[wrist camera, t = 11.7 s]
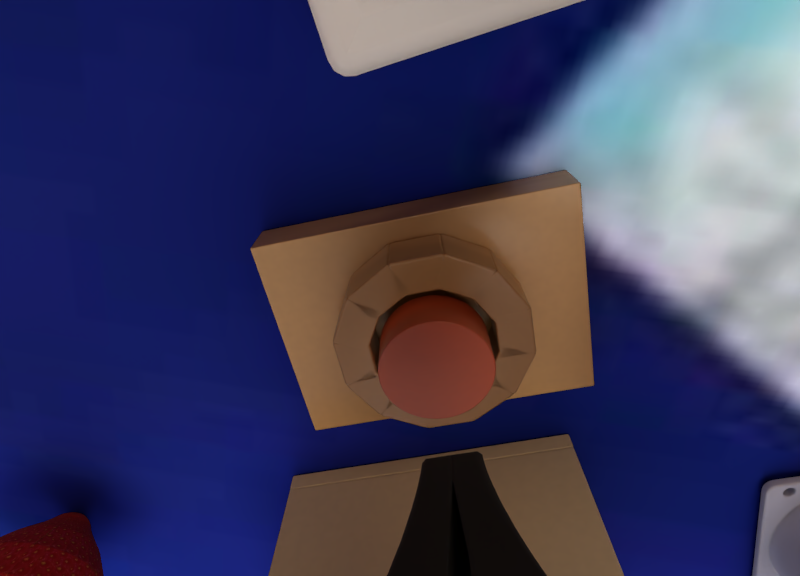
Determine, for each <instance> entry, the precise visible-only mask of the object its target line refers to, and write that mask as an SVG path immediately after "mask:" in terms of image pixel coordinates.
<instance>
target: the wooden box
mask: <svg viewBox="0 0 800 576" xmlns="http://www.w3.org/2000/svg"><path fill="white" fill-rule="evenodd" d="M475 451H478V452H479V453H481V454H483V459H484V463H485V466H486V469H487V472H488V474H489V477H490V479H491V482H492V484H493V486H494V488H495V490H496V492H497V495H498V497H499V499H500V501H501V502H502V504H503V506H504V508H505V510H506V512H507V513H508V515H509V517H510V519H511V520H512V522H513V524H514V526H515V528H516V529H517V531H518V533H519V534H520V536H521V537H522V539H523V541H524V542H525V544H526V545H527V547H528V548H529V550H530V551H531V553H532V554H533V556H534V558H535V559H536V560H537V562H538V563H539V565H540V566H541V568H542V569H543V571H544V572H545V573H546V575H547V576H624V574H623V572H622V569H621V567H620V564H619V561H618V559H617V556H616V554H615V551H614V549H613V546H612V544H611V541H610V539H609V536H608V534H607V531H606V529H605V526H604V523H603V521H602V518H601V516H600V513H599V511H598V508H597V506H596V503H595V501H594V498H593V496H592V493H591V490H590V488H589V485H588V483H587V480H586V478H585V475H584V473H583V470H582V468H581V465H580V463H579V460H578V458H577V455H576V452H575V450H574V448H573V444H572V442H571V439H570V437H569V435H568V434H565V435H558V436H552V437H545V438H539V439H532V440H526V441H519V442H513V443H506V444H500V445H493V446H487V447H480V448H474V449H467V450H460V451H454V452H447V453H441V454H434V455H428V456H421V457H415V458H408V459H402V460H395V461H389V462H382V463H376V464H369V465H362V466H356V467H349V468H343V469H336V470H330V471H323V472H317V473H310V474H304V475H297V476H293V479H292V483H291V487H290V492H289V496H288V500H287V504H286V508H285V512H284V516H283V520H282V524H281V528H280V532H279V536H278V540H277V544H276V548H275V552H274V556H273V560H272V564H271V568H270V572H269V576H387V574H388V572H389V569H390V567H391V564H392V562H393V559H394V557H395V554H396V552H397V549H398V547H399V544H400V542H401V539H402V536H403V533H404V530H405V527H406V524H407V521H408V518H409V515H410V512H411V509H412V505H413V502H414V498H415V495H416V491H417V487H418V483H419V478H420V473H421V467H422V463H423V461H424V460H425V459H428V458H435V457H441V456H448V455H455V454H461V453H468V452H475Z"/></svg>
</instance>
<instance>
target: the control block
mask: <svg viewBox="0 0 800 576" xmlns="http://www.w3.org/2000/svg"><path fill="white" fill-rule="evenodd" d="M251 252H252V255H253V258H254V260H255V263H256V266H257V269H258V272H259V274H260V277H261V280H262V283H263V286H264V288H265V291H266V294H267V297H268V299H269V302H270V305H271V308H272V311H273V313H274V316H275V319H276V322H277V325H278V327H279V330H280V333H281V336H282V338H283V341H284V344H285V347H286V350H287V352H288V355H289V358H290V361H291V364H292V366H293V369H294V372H295V375H296V377H297V380H298V383H299V386H300V389H301V391H302V394H303V397H304V400H305V403H306V405H307V408H308V411H309V414H310V416H311V419H312V422H313V425H314V428H315V430H321V429H327V428H333V427H340V426H346V425H352V424H358V423H364V422H371V421H377V420H383V419H389V418H392V419H396V420H399V421H403V422H407V423H411V424H414V425H418V426H422V427H427V428H432V427H438V426H444V425H451V424H457V423H463V422H470V421H475V419H478V418H479V417H481V416H482V415H484V414H485V413H487V412H488V411H490V410H491V409H493V408H494V407H496V406H497V405H499V404H500V403H502V402H503V401H505V400H507V399H513V398H519V397H526V396H532V395H538V394H544V393H550V392H557V391H563V390H569V389H575V388H581V387H588V386H593V385H594V375H593V360H592V345H591V330H590V316H589V301H588V286H587V271H586V256H585V241H584V226H583V212H582V197H581V183H580V182H579V181H578V180H577V179H576V178H575V177H573V176H572V175H571V174H570V173H569V172H568V171H567V170H563V171H558V172H553V173H548V174H543V175H539V176H534V177H529V178H524V179H519V180H514V181H509V182H504V183H499V184H494V185H489V186H484V187H479V188H474V189H469V190H464V191H460V192H455V193H450V194H445V195H440V196H435V197H430V198H425V199H420V200H415V201H410V202H405V203H400V204H395V205H390V206H385V207H380V208H376V209H371V210H366V211H361V212H356V213H351V214H346V215H341V216H336V217H331V218H326V219H321V220H316V221H311V222H306V223H301V224H297V225H292V226H287V227H282V228H277V229H272V230H267V231H263V232H262V233H261V234H260V236H259V237H258V238H257V240H256V241H255V243H254V244H253V246H252V247H251ZM428 295H443V296H449V297H453V298H456V299H459V300H461V301H463V302H465V303H467V304H468V305H469V306H471V307H472V308H473V309H474V310H476V311H477V313H478V314H479V315H480V316H481V318H482V319H483V321H484V323H485V325H486V328H487V331H488V335H489V339H490V343H491V346H492V350H493V354H494V358H495V362H496V375H495V379H494V382H493V385H492V387H491V389H490V391H489V393H488V394H487V395H486V397H485V398H484V399H483V400H482V401H481V402H480V403H479V404H478V405H476V406H475V407H474V408H472V409H471V410H469V411H467V412H465V413H463V414H460V415H457V416H454V417H450V418H443V419H428V418H422V417H417V416H414V415H411V414H409V413H407V412H405V411H403V410H401V409H400V408H398V407H397V406H396V405H394V404H393V403H392V402H391V401H390V400H389V399H388V397H387V396H386V395H385V393H384V391H383V389H382V388H381V385H380V382H379V377H378V361H379V349H380V339H381V333H382V329H383V327H384V324H385V322H386V321H387V319H388V318H389V316H390V315H391V314H392V313H393V312H394V311H395V310H396V309H397V308H398V307H400V306H401V305H403V304H404V303H406V302H408V301H410V300H412V299H415V298H418V297H422V296H428Z"/></svg>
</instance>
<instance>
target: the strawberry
mask: <svg viewBox="0 0 800 576" xmlns="http://www.w3.org/2000/svg"><path fill="white" fill-rule="evenodd" d="M0 576H103V569H102V563H101V557H100V552H99V549H98V547H97V544H96V542H95V540H94V537H93V535H92V531H91V525H90V522H89V520H88V518H87V517H86V516H85V515H83V514H81V513H77V512H69V513H64V514H61V515H59V516H57V517H55V518H53V519H50V520H47V521H45V522H41V523H38V524H35V525H31V526H28V527H25V528H21V529H19V530H16V531H14V532H11V533H9V534H7V535H4V536H2V537H0Z"/></svg>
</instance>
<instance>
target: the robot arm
mask: <svg viewBox="0 0 800 576" xmlns="http://www.w3.org/2000/svg"><path fill="white" fill-rule="evenodd" d="M387 576H547V575H546V573H545V572H544V571H543V569H542V568H541V566H540V565H539V563H538V562H537V560H536V559H535V558H534V556H533V554H532V553H531V551H530V550H529V548H528V547H527V545H526V544H525V542H524V541H523V539H522V537H521V536H520V534H519V533H518V531H517V529H516V528H515V526H514V524H513V522H512V520H511V519H510V517H509V515H508V513H507V512H506V510H505V508H504V506H503V504H502V502H501V501H500V499H499V497H498V495H497V492H496V490H495V488H494V486H493V484H492V482H491V479H490V477H489V474H488V472H487V469H486V466H485V463H484V459H483V454H481V453H479V452H478V451H475V452H468V453H461V454H455V455H448V456H441V457H435V458H428V459H425V460H424V461H423V463H422V467H421V473H420V478H419V483H418V487H417V491H416V495H415V498H414V502H413V505H412V509H411V512H410V515H409V518H408V521H407V524H406V527H405V530H404V533H403V536H402V539H401V542H400V544H399V547H398V549H397V552H396V554H395V557H394V559H393V562H392V564H391V567H390V569H389V572H388V574H387ZM752 576H800V476H797V477H789V478H782V479H775V480H770V481H768V482H766V483H765V484H764V485H763V487H762V489H761V499H760V508H759V517H758V526H757V535H756V544H755V553H754V563H753V572H752Z"/></svg>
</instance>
